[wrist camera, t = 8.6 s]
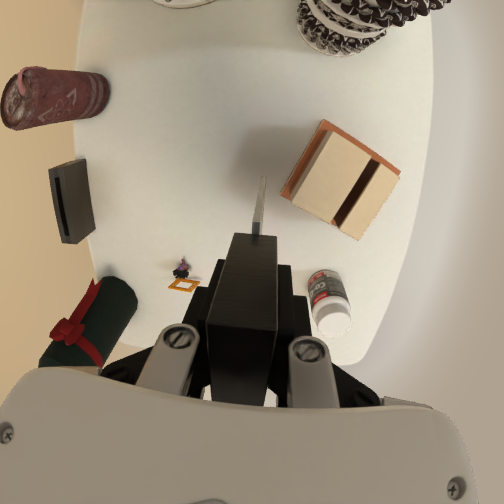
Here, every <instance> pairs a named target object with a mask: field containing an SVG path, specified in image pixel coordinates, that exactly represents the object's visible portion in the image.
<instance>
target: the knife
mask: <svg viewBox="0 0 504 504" xmlns="http://www.w3.org/2000/svg"><path fill="white" fill-rule="evenodd" d="M265 187H266V177H261V182H260V187H259V192H258V197H257V202H256V207H255V212H254V217H253V222H252V234H246V233H234V236H233V239H232V242H231V245H230V248H229V251H228V254H227V257H226V260H225V263H224V266H223V269H222V273H221V276H220V279H219V282H218V285H217V288H216V292H215V295H214V298H213V301H212V304H211V308H210V311H209V314H208V317H207V320H206V333H207V349H208V363H209V376H210V387H211V398H212V401H215V402H223V403H231V404H240V405H250V406H262V407H263V406H264V401H265V395H266V390H267V386H268V380H269V375H270V370H271V364H272V359H273V353H274V348H275V342H276V336H277V331H278V275H277V237H276V236H268V235H262V223H263V211H264V199H265Z"/></svg>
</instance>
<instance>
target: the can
mask: <svg viewBox="0 0 504 504" xmlns="http://www.w3.org/2000/svg"><path fill="white" fill-rule="evenodd" d="M108 98H109V85H108V82H107V80H106V78H104V77H103V76H102V75H100V74H97V73H90V72H80V71H68V70H48V69H46V68H43V67H38V66H34V67H25V68H23V69H22V70H21V71H20V72H19V73H18V74H15V75H14V76H13V77H12V78H10V80H9V81H8V83H7V84H6V86H5V89H4V91H3V94H2V98H1V104H0V113H1V118H2V121H3V123H4V124H5V126H6V127H8V128H10V129H11V128H12V129H13V130H16V131H17V130H23V129H28V128H32V127H37V126H42V125H47V124H52V123H58V122H64V121H70V120H77V119H85V118H91V117H94V116H96V115H97V114H98V113H100V112H101V111H102V109H103V108H104V106H105V105H106V103H107V100H108Z"/></svg>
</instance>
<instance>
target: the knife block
mask: <svg viewBox="0 0 504 504" xmlns="http://www.w3.org/2000/svg"><path fill="white" fill-rule="evenodd" d="M48 171H49V179H50V185H51V192H52V198H53V204H54V209H55V214H56V219H57V223H58V228H59V233H60V237H61V241H62V243H67V244H78V243H79V242H80V241H81V240H82V239H84V238H85V237H86V236H88V235H89V234H90V233H91V232H93V231H94V230H95V224H94V218H93V212H92V206H91V200H90V193H89V185H88V177H87V168H86V159H82V160H75V161H70V162H67V163H64V164H62V165H59V166H56V167H53V168H51V169H49V170H48Z"/></svg>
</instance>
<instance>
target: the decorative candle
mask: <svg viewBox="0 0 504 504" xmlns="http://www.w3.org/2000/svg"><path fill="white" fill-rule="evenodd" d="M450 2H451V0H301V1H300V3H299V5H298V7H299V8H298V10H297V12H298V14H297V28H298V30H299V32H300V34H301V36H302V38H303V39H304V40H305V41H306V42H307V43H308V44H309V45H310V46H311V47H312V48H313V49H315V50H317V51H320V52H322V53H324V54H326V55H329V56H337V57H346V56H350V55H355V54H356V53H360V52H361V50H364V49H365V48H366V47H368V46H369V45H371V44H373V43H374V42H376V40H378V39H380V37H383V36H385V35H386V29H388V28H390V27H397V26H398V27H402V26H404V24H405V21H413V20H415V19H416V16H417V15H416V14H418V15H421V16H427V15H428V14H429V12H430V9H431V10H436V9H441V8H443V6H444V3H450Z"/></svg>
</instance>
